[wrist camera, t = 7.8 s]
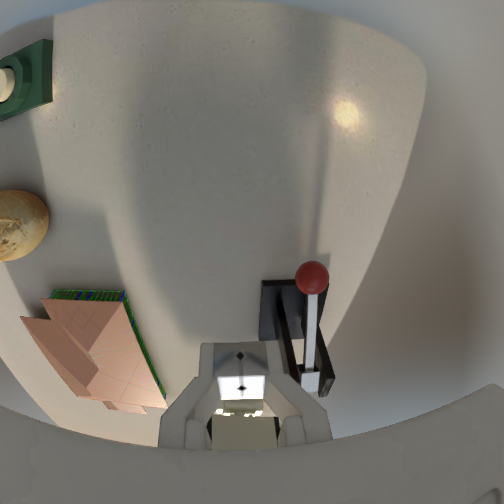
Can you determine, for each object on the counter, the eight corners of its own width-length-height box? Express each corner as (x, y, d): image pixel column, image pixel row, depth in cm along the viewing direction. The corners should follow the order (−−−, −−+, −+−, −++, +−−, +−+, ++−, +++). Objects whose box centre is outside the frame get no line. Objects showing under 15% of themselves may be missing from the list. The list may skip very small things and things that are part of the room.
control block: (0, 121, 21) (-19, 128, 18) (-2, 67, 17) (-21, 69, 14) (52, 101, 22) (33, 105, 19) (53, 40, 18) (33, 37, 14)
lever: (292, 259, 31) (299, 263, 27) (323, 259, 31) (334, 262, 28) (289, 382, 32) (295, 397, 28) (317, 379, 32) (325, 393, 29)
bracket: (261, 280, 37) (275, 367, 25) (327, 278, 38) (360, 358, 26) (258, 335, 43) (267, 413, 31) (314, 332, 44) (335, 405, 32)
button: (-5, 105, 17) (-15, 108, 16) (-6, 74, 15) (-15, 76, 14) (16, 95, 18) (6, 97, 16) (16, 63, 16) (6, 63, 14)
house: (84, 391, 52) (77, 418, 45) (17, 284, 35) (-5, 316, 28) (173, 401, 54) (170, 433, 47) (128, 286, 36) (111, 329, 29)
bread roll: (-19, 193, 26) (-51, 217, 19) (42, 169, 26) (4, 194, 19) (0, 247, 31) (-26, 276, 24) (63, 236, 31) (34, 271, 24)
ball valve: (193, 402, 54) (191, 475, 39) (196, 383, 50) (193, 467, 35) (273, 407, 57) (282, 476, 42) (284, 389, 53) (297, 466, 38)
